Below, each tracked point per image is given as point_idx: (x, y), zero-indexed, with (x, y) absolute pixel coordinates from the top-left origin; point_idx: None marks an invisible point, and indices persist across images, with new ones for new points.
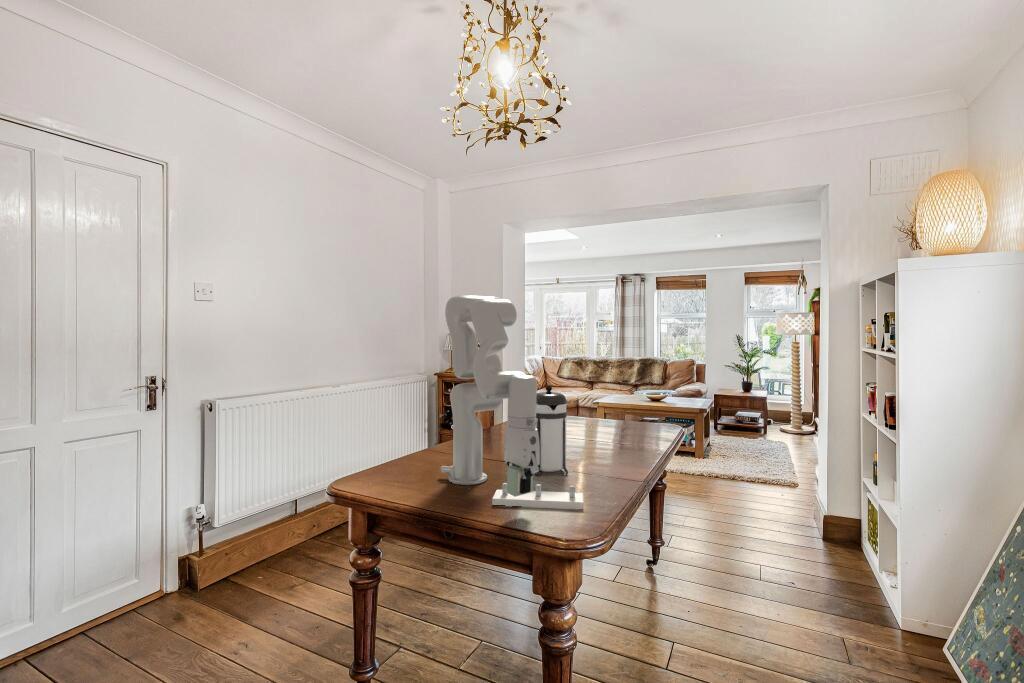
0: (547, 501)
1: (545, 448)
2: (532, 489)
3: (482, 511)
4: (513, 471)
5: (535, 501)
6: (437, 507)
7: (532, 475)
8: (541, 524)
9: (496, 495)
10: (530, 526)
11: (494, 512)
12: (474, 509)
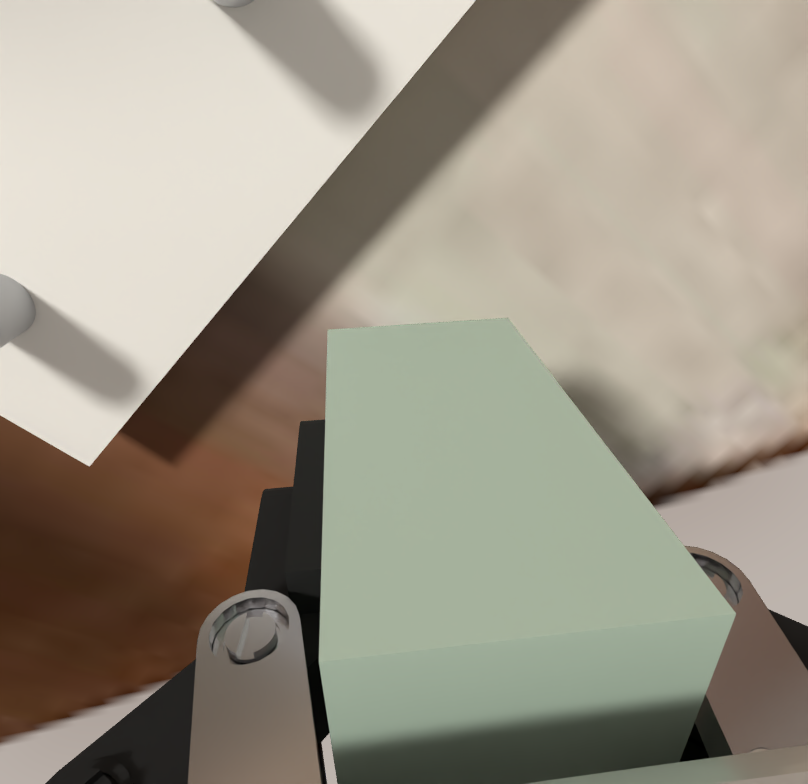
0: (469, 3)
1: None
2: (518, 337)
3: (207, 535)
4: None
5: (364, 131)
6: (3, 694)
7: (795, 623)
8: (692, 345)
9: (12, 397)
10: (653, 426)
11: (271, 484)
12: (141, 557)
